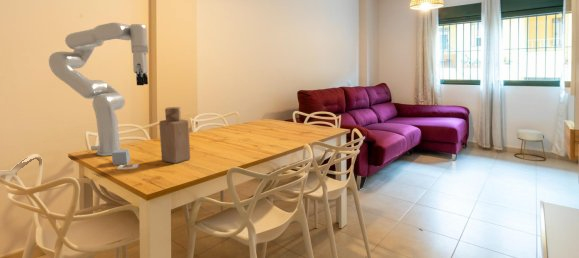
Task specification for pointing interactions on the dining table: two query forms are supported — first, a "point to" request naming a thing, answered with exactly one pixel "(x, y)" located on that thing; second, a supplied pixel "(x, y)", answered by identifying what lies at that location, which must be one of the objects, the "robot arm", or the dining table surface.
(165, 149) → the wooden block
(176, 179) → the dining table surface
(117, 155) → the slate-grey cube
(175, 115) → the walnut cube
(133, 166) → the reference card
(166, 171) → the dining table surface
